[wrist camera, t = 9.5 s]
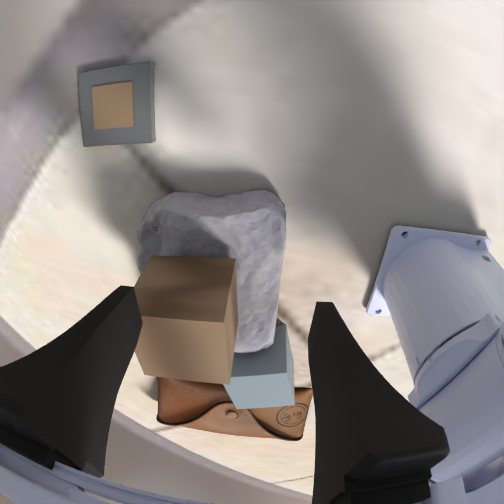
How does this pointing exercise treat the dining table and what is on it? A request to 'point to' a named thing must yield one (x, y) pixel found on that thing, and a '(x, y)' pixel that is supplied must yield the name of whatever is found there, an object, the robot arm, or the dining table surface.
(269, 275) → the stone block
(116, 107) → the tile
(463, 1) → the dining table surface
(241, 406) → the blue-grey cube
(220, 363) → the walnut cube
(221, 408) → the sunglasses case
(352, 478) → the robot arm
